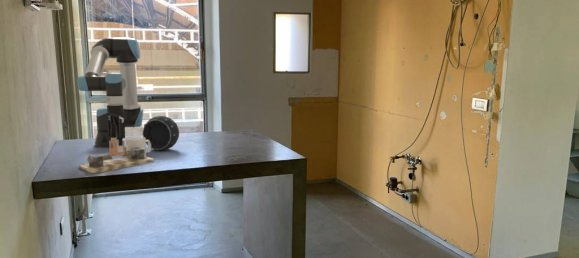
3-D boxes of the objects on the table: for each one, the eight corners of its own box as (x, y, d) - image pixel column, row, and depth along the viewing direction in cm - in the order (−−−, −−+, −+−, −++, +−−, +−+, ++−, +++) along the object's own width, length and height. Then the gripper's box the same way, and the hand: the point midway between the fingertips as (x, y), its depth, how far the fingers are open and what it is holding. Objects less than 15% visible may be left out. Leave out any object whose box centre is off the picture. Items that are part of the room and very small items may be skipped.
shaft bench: (93, 173, 201) (92, 159, 200) (79, 168, 210) (78, 155, 209) (153, 161, 225) (153, 149, 224) (138, 157, 234) (138, 145, 233)
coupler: (109, 154, 215) (108, 140, 214) (120, 153, 220) (119, 139, 219) (113, 156, 213) (113, 142, 212) (125, 154, 217) (124, 140, 216)
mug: (145, 153, 245) (144, 135, 243) (155, 156, 238) (154, 137, 236) (122, 157, 235) (121, 138, 233) (132, 160, 228) (131, 141, 226)
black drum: (173, 153, 246) (172, 118, 243) (140, 151, 250) (139, 116, 246) (181, 149, 256) (180, 115, 253) (150, 147, 260) (149, 114, 257)
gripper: (98, 103, 215) (101, 150, 219) (117, 106, 204) (119, 155, 208) (112, 102, 221) (115, 147, 224) (131, 105, 210) (133, 152, 213)
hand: (117, 151), depth 216 cm, fingers closed on coupler, 4 cm apart
